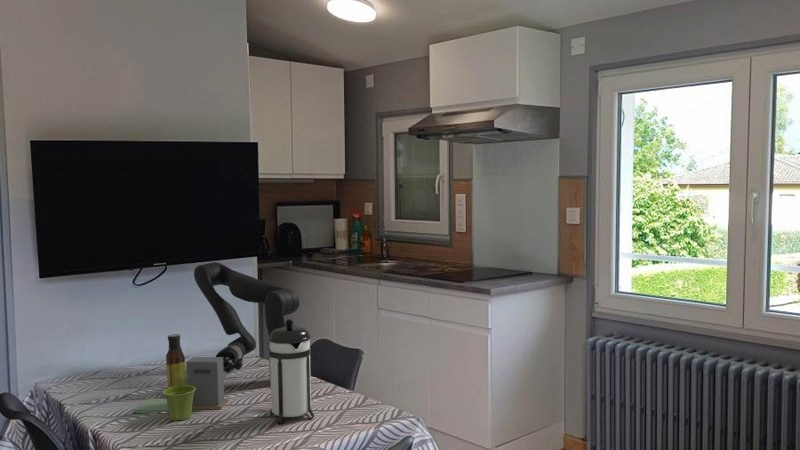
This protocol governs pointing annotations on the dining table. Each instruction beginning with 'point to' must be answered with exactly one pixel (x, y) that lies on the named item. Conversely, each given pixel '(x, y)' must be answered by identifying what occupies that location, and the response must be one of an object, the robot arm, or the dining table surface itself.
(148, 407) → the green mat
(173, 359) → the sauce bottle
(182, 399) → the plant pot
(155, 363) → the dining table surface
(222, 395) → the charcoal unit
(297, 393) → the coffee press
